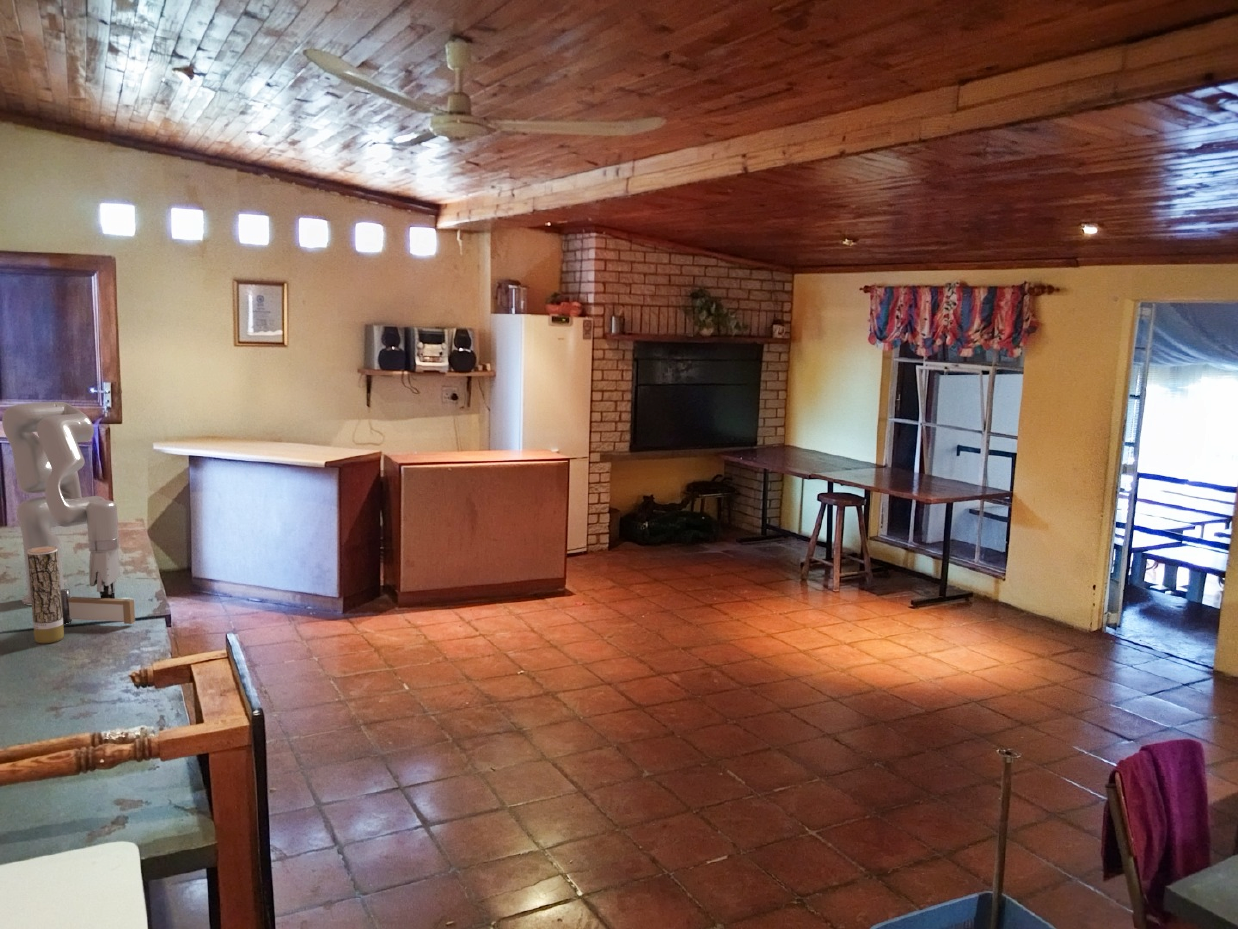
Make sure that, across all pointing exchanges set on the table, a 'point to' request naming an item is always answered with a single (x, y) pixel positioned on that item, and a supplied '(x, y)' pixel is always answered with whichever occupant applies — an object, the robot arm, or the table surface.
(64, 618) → the hinge post
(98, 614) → the gate
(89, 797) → the table surface
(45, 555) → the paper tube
